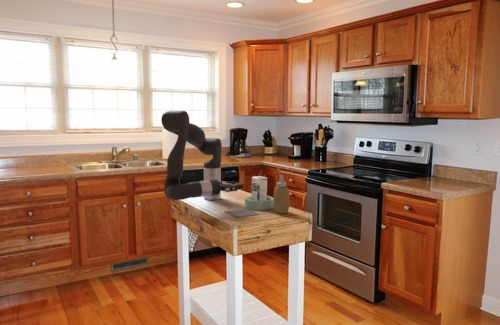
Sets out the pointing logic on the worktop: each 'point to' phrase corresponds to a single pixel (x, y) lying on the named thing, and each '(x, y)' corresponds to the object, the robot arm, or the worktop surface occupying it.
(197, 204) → the worktop surface
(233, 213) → the mat
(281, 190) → the squeeze bottle
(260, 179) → the syrup box
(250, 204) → the bowl
